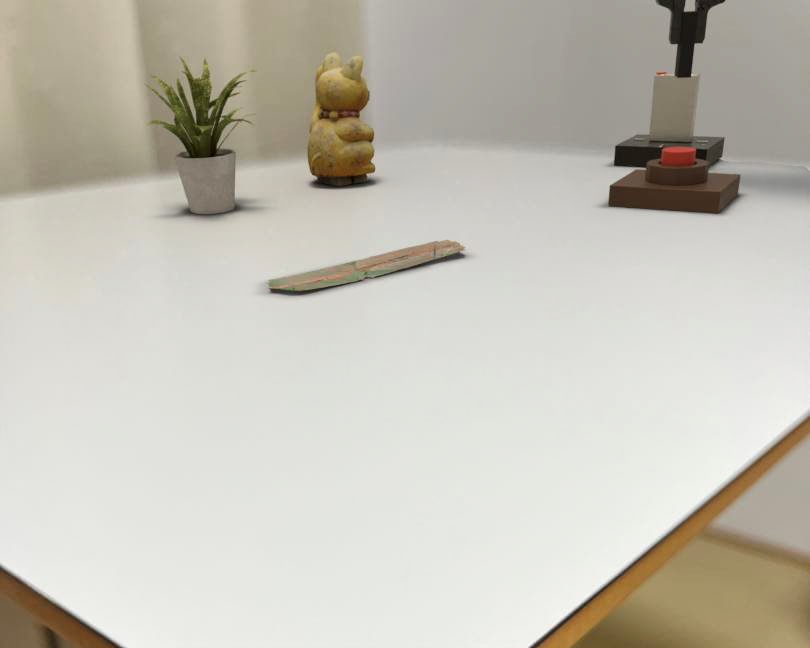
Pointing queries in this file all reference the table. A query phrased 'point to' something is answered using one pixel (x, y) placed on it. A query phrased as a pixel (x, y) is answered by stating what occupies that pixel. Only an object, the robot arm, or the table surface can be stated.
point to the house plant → (203, 142)
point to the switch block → (675, 188)
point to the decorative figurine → (340, 124)
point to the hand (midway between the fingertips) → (682, 76)
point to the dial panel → (643, 150)
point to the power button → (678, 156)
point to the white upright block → (673, 108)
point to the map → (368, 266)
